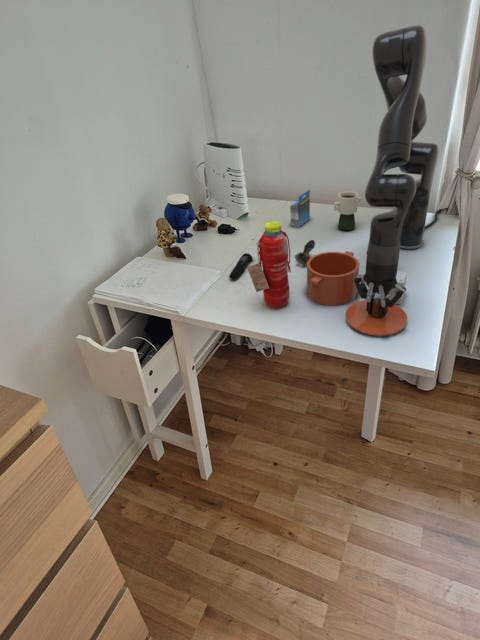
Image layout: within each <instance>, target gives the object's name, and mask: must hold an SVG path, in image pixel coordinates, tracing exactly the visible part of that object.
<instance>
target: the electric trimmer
mask: <svg viewBox="0 0 480 640" xmlns="http://www.w3.org/2000/svg"><path fill="white" fill-rule="evenodd" d="M252 261H253V256H252V254H250V253H247V252H246V253H243V254H242V255H241V256H240V258H239V259H238V261H237V262H236V264H235V266H234V267H233V269H232V270H231V272H230V273H229V276H228V278H229V279H234V280H236V279H237V278H238V277H240V276H241V275H242V274H243V273H244V272H245V268H246V267H247V265H248V264H249V262H252Z"/></svg>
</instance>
